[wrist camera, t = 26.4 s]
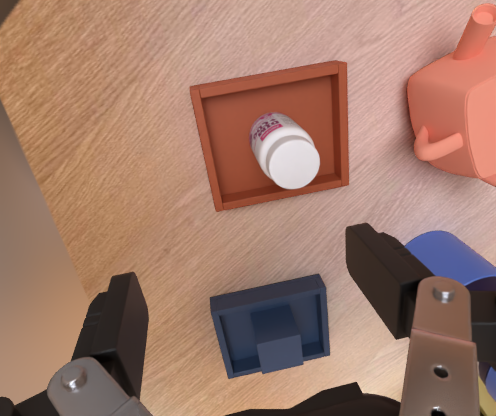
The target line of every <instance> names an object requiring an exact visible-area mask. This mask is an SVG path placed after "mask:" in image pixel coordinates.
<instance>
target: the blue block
mask: <svg viewBox="0 0 496 416" xmlns="http://www.w3.org/2000/svg"><path fill="white" fill-rule="evenodd" d="M250 316H251V321H252V326H253V331H254V336H255V341H256V346H257V351H258V356H259V360H260V365H261V370H262V374H265V373H269V372H274V371H278V370H282V369H287V368H291V367H295V366H299V365H303V355H302V346H301V338H300V333H299V330H298V327H297V325H296V322H295V319H294V316H293V314H292V311H291V308H290V305H284V306H280V307H275V308H271V309H266V310H262V311H257V312H253V313H250Z"/></svg>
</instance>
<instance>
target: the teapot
mask: <svg viewBox="0 0 496 416" xmlns="http://www.w3.org/2000/svg"><path fill="white" fill-rule="evenodd" d="M495 26H496V5H493V4H489V3H486V4H481V5H479V6H477V7H476V8H475V9H474V10H473V12H472V14H471V17H470V19H469V21H468V24H467V26H466V28H465V30H464V33H463V35H462V37H461V39H460V42H459V44H458V46H457V48H456V51H454V52H452V53H450V54H448V55H446V56H444V57H442V58H440V59H438V60H436V61H434V62H433V63H431V64H429V65H427V66H425V67H424V68H422V69H420V70H419V71H417V72H416V73H414V74H413V75H412V76H411V77H410V79H409V81H408V88H407V96H408V102H409V111H410V118H411V122H412V126H413V130H414V133H415V136H416V140H415V143H414V152H415V155H416V157H417V158H418V159H419V160H422V161H428V162H429V163H430V164H431V165H433V166H435V167H436V168H438V169H441V170H443V171H446V172H449V173H452V174H456V175H461V176H467V177H473V178H479V179H481V180H482V181H484V182H486V183H488V184H490V185H492V186H495V187H496V36H493V37H489V36H490V35H491V33H492V31H493V29H494V27H495Z"/></svg>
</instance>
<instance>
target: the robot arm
mask: <svg viewBox="0 0 496 416" xmlns="http://www.w3.org/2000/svg"><path fill="white" fill-rule="evenodd" d="M346 264H347V268H348V271H349V273H350V275H351V277H352V278H353V280H354V281H355V283H356V284H357V285H358V287H359V288H360V290H361V291H362V292H363V294H364V295H365V297H366V298H367V299H368V301H369V302H370V304H371V305H372V307H373V308H374V309H375V311H376V312H377V314H378V315H379V316H380V318H381V319H382V321H383V322H384V323H385V325H386V326H387V328H388V329H389V331H390V332H391V333H392V335H393V336H394V338H395V339H396V340H397V339H401V338H405V337H409V338H410V343H409V350H408V357H407V364H406V371H405V378H404V385H403V392H402V399H401V403H400V402H398V401H396V400H394V399H391V398H388V397H385V396H380V395H376V394H368V393H362V391H361V389H360V387H359V385H358V383H357V382H354V383H350V384H346V385H342V386H338V387H334V388H331V389H327V390H323V391H321V392H319V393H317V394H316V395H314V396H312V397H310V398H308V399H307V400H305V401H303V402H301V403H299V404H298V405H296V406H294V407H292V408H290V409H248V410H244V411H241V412H237V413H233V414H229V415H225V416H480V405H479V384H478V364H477V362H488V363H489V364H490V366H491V367H492V368H493V369H494V370H495V371H496V291H470V290H468V289H467V288H466V287H465V286H464V285H463V284H461V283H460V282H458V281H456V280H453V279H451V278H447V277H441V276H435V275H434V274H433V273H432V272H431V271H430V270H429V269H428V268H427V267H426V266H425V265H424V264H423V263H422V262H421V261H419V260H418V259H417V258H416V257H415V256H414V255H413V254H411V252H410V251H409V250H408V249H407V248H404V245H402V244H401V243H400V242H399V241H398V240H397V239H396V238H394V237H392V236H390V235H388V234H386V233H384V232H382V233H377V232H376V231H375V230H374V229H373V228H372V227H371V226H370V225H369V224H368V223H362V224H357V225H352V226H348V227H347V228H346ZM148 321H149V316H148V308H147V304H146V301H145V298H144V296H143V293H142V290H141V287H140V284H139V282H138V279H137V276H136V274H135V273H134V272H129V273H125V274H120V275H115V276H112V278H111V281H110V284H109V288H108V291H107V292H103V293H99V294H98V295H97V297H96V298H95V299H94V300H93V301H92V303H91V304H90V306H89V309H88V312H87V315H86V318H85V320H84V323H83V328H82V329H81V332H80V335H79V338H78V341H77V344H76V347H75V350H74V353H73V356H72V359H71V362H69V363H67V364H66V365H64V366H63V367H62V368H61V369H59V370H58V371H57V372H56V373H55V374H54V376H53V377H52V378H51V380H50V382H49V384H48V387H47V389H46V390H45V391H43V392H41V393H39V394H37V395H35V396H33V397H31V398H29V399H27V400H25V401H23V402H21V403H19V404H17V405H14V404H13V402H12V401H11V400H10V399H9V398H6V397H0V416H153V415H152V414H151V413H150V412H149V411H148V410H147V409H146V407H145V406H144V405H143V404H142V403H141V402H140V392H141V383H142V374H143V366H144V357H145V348H146V339H147V330H148Z"/></svg>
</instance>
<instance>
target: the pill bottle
mask: <svg viewBox="0 0 496 416" xmlns="http://www.w3.org/2000/svg"><path fill="white" fill-rule="evenodd" d="M249 143H250V147H251V149H252V151H253V153H254V155H255V157H256V159H257V161H258V163H259V165H260V167H261V169H262V170H263V172H264V173H265V174H266V175H267V176H268V177H269V178H271V179H272V180H273V181H274V182H275V183H276V184H277V185H279V186H280V187H282V188H285V189H298V188H301V187H303V186H305V185H307V184H309V183H310V182H311V181H312V180H313V179H314V177H315V176H316V174H317V172H318V170H319V166H320V158H319V154H318V152H317V150H316V148H315V146H314V143H313V140H312V139H311V137H310V136H309V134H308V133H307V132H306V131H304V130H303V129H302V128H301V127H300V126H299V125H298V124H297V123H296V122H294V121H293V120H292V119H291V118H290V117H288V116H287V115H285V114H282V113H278V112H271V113H267V114H264V115H262V116H261V117H259V118H258V119H257V120H256V121H255V122H254V124H253V125H252V127H251V129H250V133H249Z"/></svg>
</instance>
